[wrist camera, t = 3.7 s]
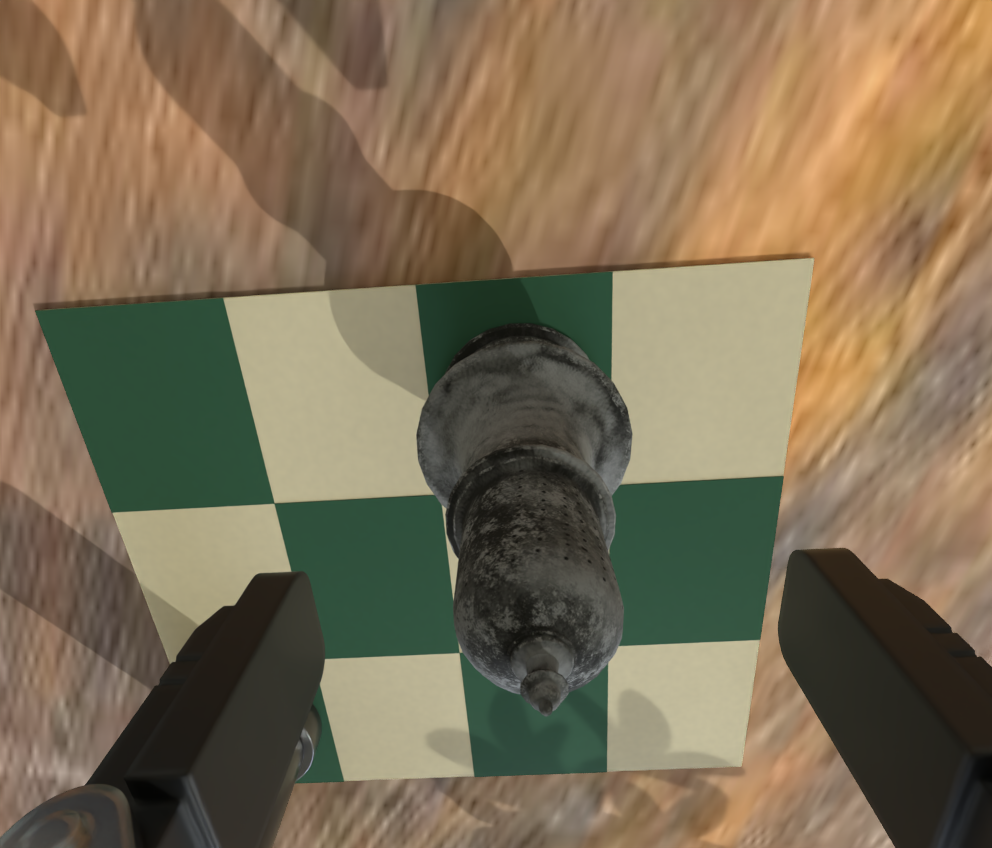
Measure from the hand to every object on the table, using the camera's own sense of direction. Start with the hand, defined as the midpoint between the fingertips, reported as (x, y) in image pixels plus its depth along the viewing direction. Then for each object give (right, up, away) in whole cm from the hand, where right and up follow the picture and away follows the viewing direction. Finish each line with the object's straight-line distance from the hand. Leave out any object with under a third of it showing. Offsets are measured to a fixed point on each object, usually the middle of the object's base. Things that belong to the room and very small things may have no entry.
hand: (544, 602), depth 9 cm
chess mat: (-3, -3, +12) cm, 13 cm away
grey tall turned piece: (0, +4, +9) cm, 10 cm away
